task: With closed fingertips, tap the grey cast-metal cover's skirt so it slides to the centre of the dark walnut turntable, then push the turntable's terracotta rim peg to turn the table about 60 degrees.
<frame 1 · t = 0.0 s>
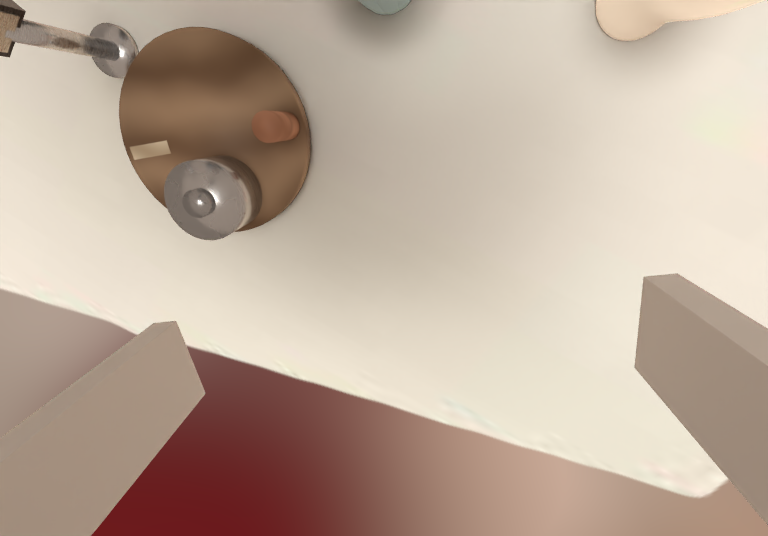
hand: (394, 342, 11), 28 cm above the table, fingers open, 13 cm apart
indicator post: (116, 52, 35), on the table
turntable: (202, 140, 33), point 4 cm above the table, hinge at 0.0°, touching cover
cover: (228, 192, 36), point 2 cm above the table, touching turntable
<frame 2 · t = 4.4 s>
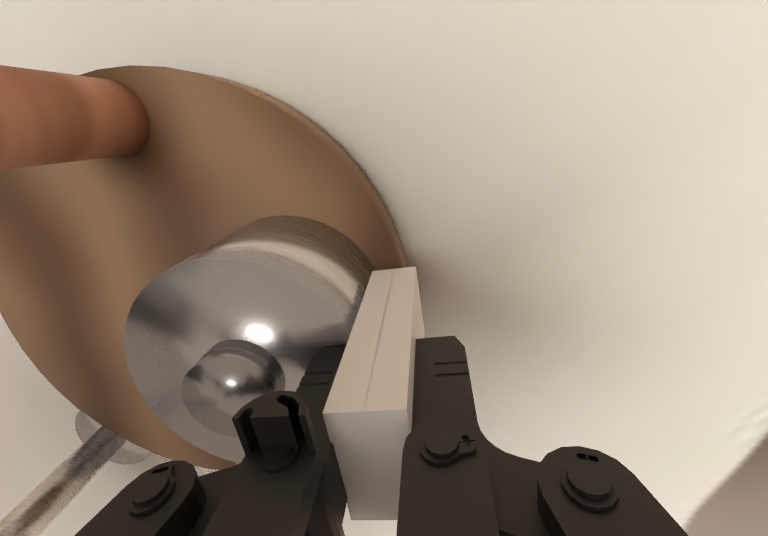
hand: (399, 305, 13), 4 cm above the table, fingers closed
indicator post: (120, 427, 22), on the table
turntable: (165, 332, 14), point 4 cm above the table, hinge at 0.0°
cover: (296, 302, 15), point 2 cm above the table, touching gripper
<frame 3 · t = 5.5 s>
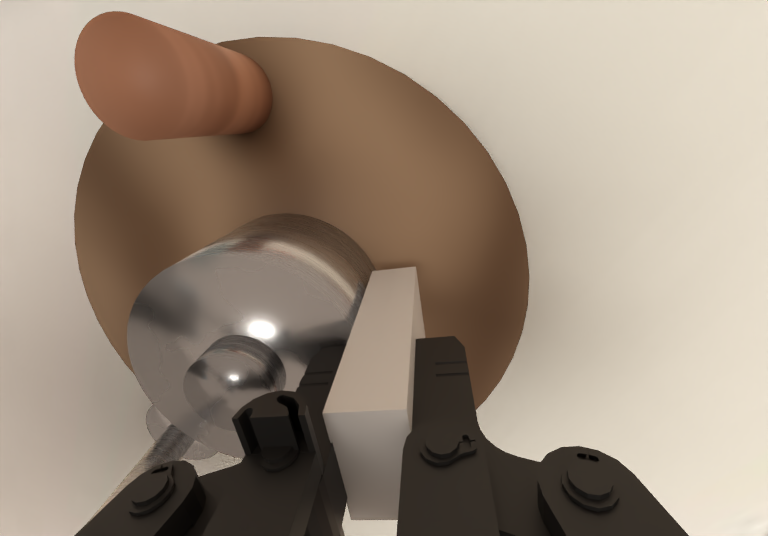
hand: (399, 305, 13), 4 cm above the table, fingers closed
indicator post: (190, 422, 21), on the table
turntable: (278, 319, 13), point 4 cm above the table, hinge at 0.1°, touching cover
cover: (296, 300, 15), point 2 cm above the table, touching gripper, turntable
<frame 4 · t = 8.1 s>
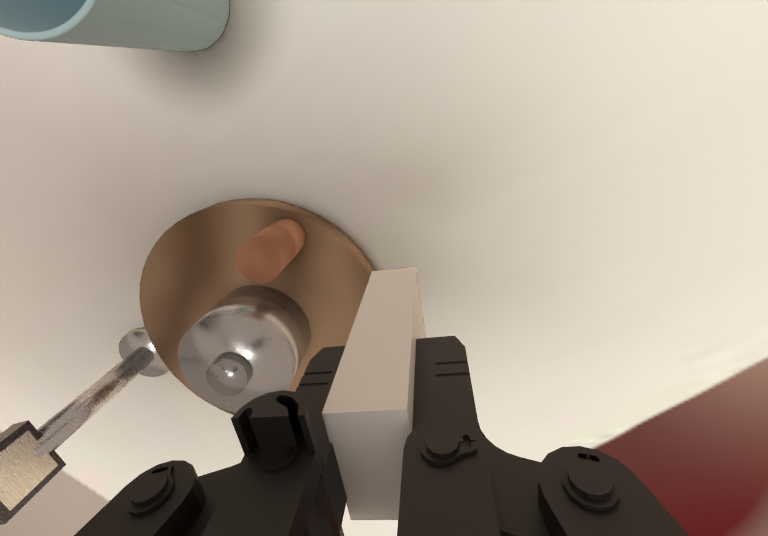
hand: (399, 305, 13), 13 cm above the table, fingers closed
indicator post: (149, 350, 31), on the table
turntable: (252, 340, 25), point 4 cm above the table, hinge at 0.1°, touching cover
cover: (263, 329, 27), point 2 cm above the table, touching turntable
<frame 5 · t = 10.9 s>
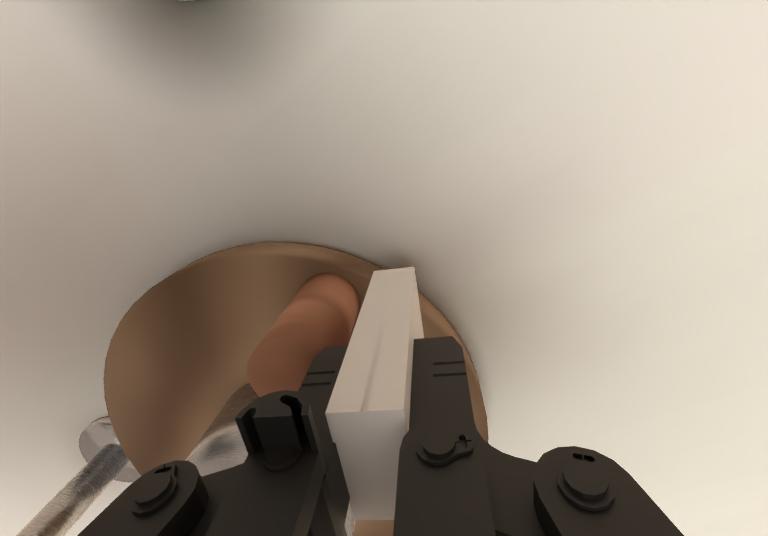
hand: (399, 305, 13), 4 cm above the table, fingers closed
indicator post: (123, 446, 22), on the table
turntable: (278, 465, 16), point 4 cm above the table, hinge at 4.2°, touching cover, gripper
cover: (293, 438, 17), point 2 cm above the table, touching turntable
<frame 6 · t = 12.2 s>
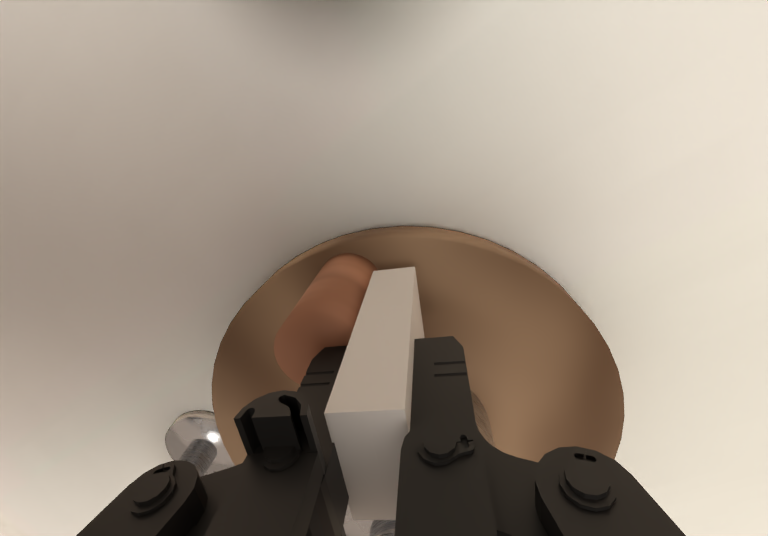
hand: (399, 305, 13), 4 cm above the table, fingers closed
indicator post: (209, 441, 21), on the table
turntable: (405, 460, 15), point 4 cm above the table, hinge at 39.6°, touching cover, gripper
cover: (409, 431, 16), point 2 cm above the table, touching turntable
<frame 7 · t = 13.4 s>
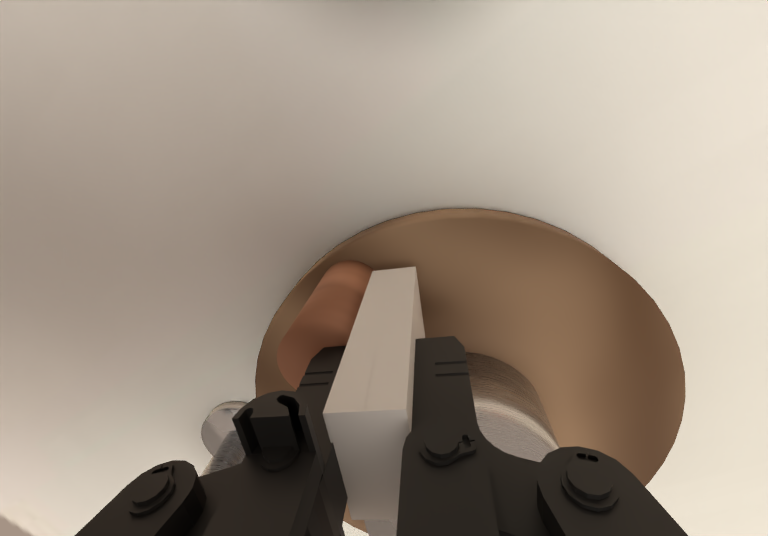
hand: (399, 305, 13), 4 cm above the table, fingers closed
indicator post: (244, 432, 21), on the table
turntable: (458, 449, 15), point 4 cm above the table, hinge at 56.7°, touching cover, gripper
cover: (458, 419, 16), point 2 cm above the table, touching turntable
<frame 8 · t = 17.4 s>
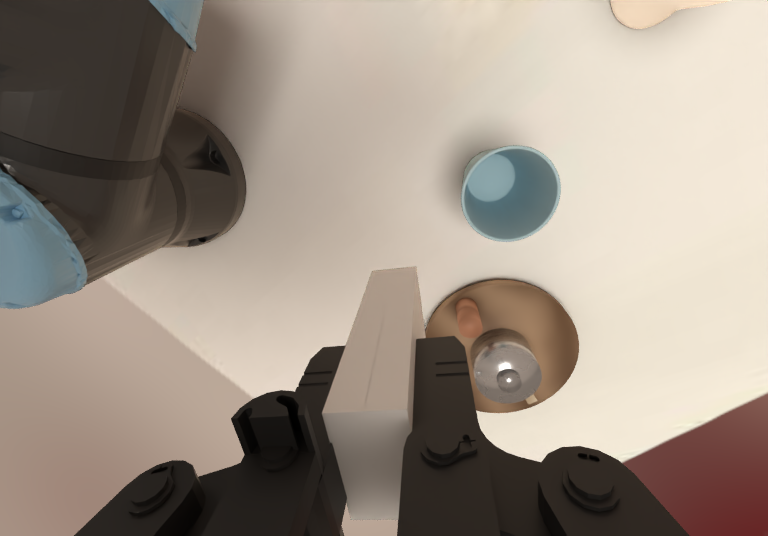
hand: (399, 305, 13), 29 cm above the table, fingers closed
cup: (489, 177, 39), on the table
turntable: (501, 361, 43), point 4 cm above the table, hinge at 56.8°, touching cover
cover: (500, 353, 44), point 2 cm above the table, touching turntable
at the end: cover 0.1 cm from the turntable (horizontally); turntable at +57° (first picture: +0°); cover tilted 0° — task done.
